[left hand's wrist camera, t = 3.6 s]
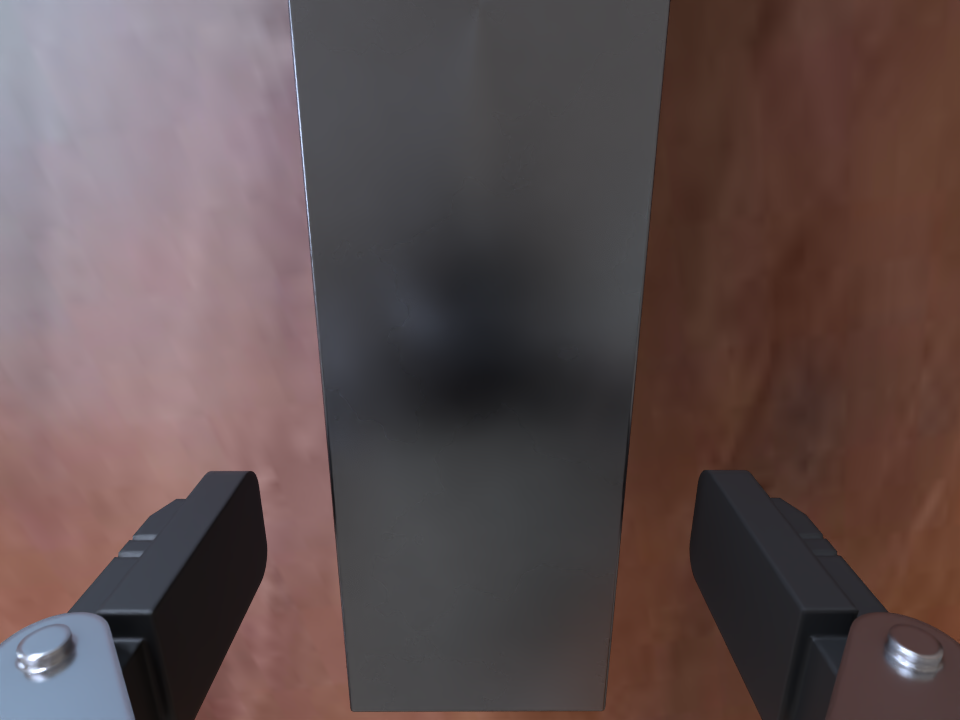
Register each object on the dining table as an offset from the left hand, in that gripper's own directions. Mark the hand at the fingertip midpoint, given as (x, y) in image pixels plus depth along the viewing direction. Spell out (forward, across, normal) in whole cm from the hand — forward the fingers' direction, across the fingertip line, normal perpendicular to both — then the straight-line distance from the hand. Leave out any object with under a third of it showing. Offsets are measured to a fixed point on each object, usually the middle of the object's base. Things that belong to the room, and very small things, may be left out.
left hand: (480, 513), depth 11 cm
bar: (+8, 0, +8) cm, 12 cm away
